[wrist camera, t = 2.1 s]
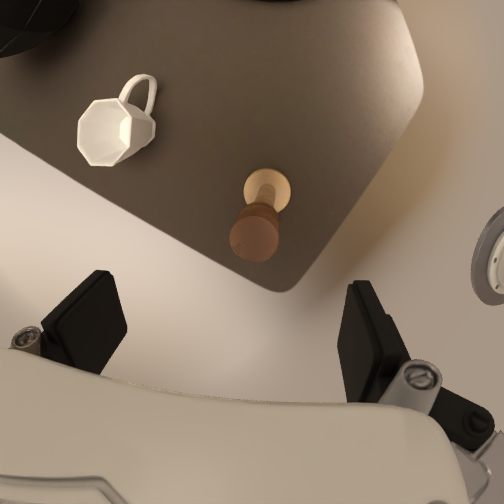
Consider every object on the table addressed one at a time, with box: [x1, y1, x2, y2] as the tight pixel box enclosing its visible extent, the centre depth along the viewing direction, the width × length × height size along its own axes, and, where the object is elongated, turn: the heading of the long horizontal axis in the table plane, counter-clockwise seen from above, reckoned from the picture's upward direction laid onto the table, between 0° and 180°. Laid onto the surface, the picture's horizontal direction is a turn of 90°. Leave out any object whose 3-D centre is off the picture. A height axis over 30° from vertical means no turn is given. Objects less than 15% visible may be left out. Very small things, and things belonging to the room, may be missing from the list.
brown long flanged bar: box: [230, 168, 291, 262], centre depth 24 cm, size 5×5×15 cm
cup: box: [77, 74, 157, 166], centre depth 25 cm, size 7×10×8 cm
